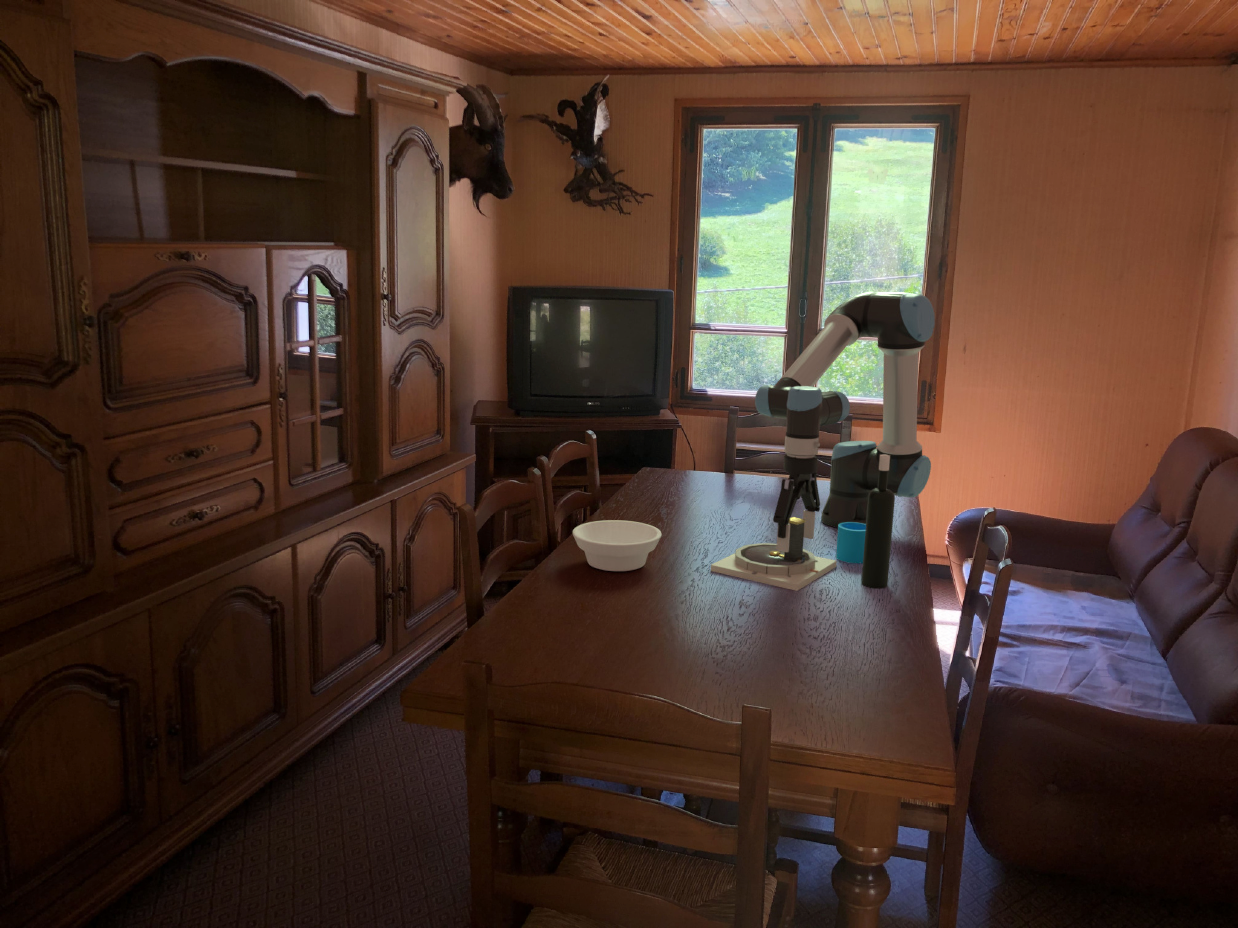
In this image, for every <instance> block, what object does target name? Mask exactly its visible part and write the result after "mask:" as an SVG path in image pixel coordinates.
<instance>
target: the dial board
mask: <svg viewBox="0 0 1238 928" xmlns="http://www.w3.org/2000/svg"><path fill="white" fill-rule="evenodd" d="M759 546H777V543H772V542H771V543H768V542H763V543H762V542H760V543H753V544H752V543H751V544H744V545H743V546H740V547H738V548H736V549H735V552H734V553H733V554H731V555H728V556H727V557H724V558H722V559H720V560H718V561H716V562H714V563H712V564H711V565H710V572H714V573H717V574H721V575H727V576H731V577H736V578H741V579H744V580H747V581H752V582H757V583H762V584H765V585H770V586H776V587H778V588H784V589H787V590H793V591H797V592H798V591H799V590H801V589H803V588H804V587H806V586H807V585H809V584H810V583H813V582H814V581H816V580H817V579H818V578H821V577H822V576H823V575H825V574H827V573H828V572H830V571H832V570H834V569H836V567H837V560H835V559H832V558H831V559H830V558H825V557H821V556H820V557H819V556H815V555H814V552H811V551H809V550H807V549H804V548H803V554H804V555H805V562H804V563H802V564H795V565H787V566H786V565H767V564H763V563H758V562H754V561H750V560H748V559H746V558H745V552H746V550H748V549H750V548H753V547H759Z"/></svg>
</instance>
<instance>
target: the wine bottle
mask: <svg viewBox="0 0 1238 928" xmlns="http://www.w3.org/2000/svg"><path fill="white" fill-rule="evenodd" d="M889 462H890V455H886V454H882V455H880V460H879V478H878V488H875V489H873V490H871V491H870V493H869V495H868V506H867V518H866V531H865V543H864V556H863V563H862V571H861V572H862V573H861V581H860V583H861V585H863V586H864V587H868V588H871V589H883V588H884V589H885V588H887V587H888V585H889V584H888V583H889V574H890V573H889V570H890V560H891V558H890V557H891V549H892V538H893V537H892V535H893V526H894V525H893V524H894V516H895V515H894V514H895V513H894V512H895V502H896V501H895V500H896V497H895V496H896V495H894V493H893V492H892V491H891V490H889V489H887V481H888V471H889Z"/></svg>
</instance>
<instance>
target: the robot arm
mask: <svg viewBox="0 0 1238 928" xmlns="http://www.w3.org/2000/svg"><path fill="white" fill-rule="evenodd" d="M934 311H935V310H934V306H933V305H932V303H931V301H930V300H929V298H928V297H926V296H925V295H923V294H919V293H912V292H897V291H896V292H893V291H891V292H890V291H887V292H886V291H885V292H884V291H866V292H862V293H858V294H856V295H854V296H852V297H850V298H849V299H847V300H845V301H844V302H842V303H841V304H839V305H838V306H837V307H836V308H835V309H834V310H833V311H832V312H831V313H830V314H829V315H828V316H827V317H826V319H825V320H824V324H823V328H822V329H821V330H820V331H819V333H818V334H817V335H816V336H815V337H814V338H813V339H812V341H811V342H810V343H809V345H807V347H806V348H805V349H804V350H803V351H802V352H801V354H800V355H799V356H798V357H797V358H796V360H795V361H794V362H793V363H792V364H791V366H790V367H789V368H788V369H787V370H786V371H785V373H784V374H783V375H782V376H781V377H780V378H779V379H778V380H777V381H776V383H775V384H763V385H761V386H760V387H758V390H756V393H755V397H754V404H755V405H754V406H755V408H756V411H757V412H758V414H761V415H762V416H766V417H771V418H776V419H783V420H786V423H785V424H786V428H785V429H786V430H785V438H784V453H785V455H784V456H783V457H784V458H783V471H785V473H788V474H789V475H788V479H785V478H784V479H783V478H782V480H781V485H780V486H781V487H780V491H779V496H778V499H777V504H776V507H775V511H774V514H773V518H772V520H773V523H776V524H777V534H776V535H777V536H776V544H777V548H776V550H778V551H783V552H789V539H790V524H788V523H789V520H790V518H792V514H793V512H794V509H795V506H796V504H797V501H798V500H799V499H801V500H802V503H803V506H804V510H803V512H802V513H803V514H802V519H804V520H805V523H804V538H803V539H809V540H813V539H814V537H815V521H816V512H820V510H821V507H820V506H821V502H820V501H821V500H820V495H819V488H818V480H817V475H818V474H817V471H818V461H819V460H818V457H817V454H818V453H819V447H820V446H821V443H820V442H819V440H820V439H819V438H820V430H821V428H820V427H822V426H827V425H835V424H837V423H839V422H843V421H844V420H845V419H846V418H847V417H848V415H849V413H850V409H851V405H850V400H849V398H848V396H847V395H845V393H843V392H842V391H839V390H838V391H837V390H833V391H832V390H828V391H822V390H821V388H819V387H815V385H816V384H817V383H818V382H819V380H820V379H821V378H822V377H823V376H824V374H825V373H826V372H827V370H828V369H829V368H830V367H831V366H832V364H833V363H834V362H835V361H836V359H838V357H839V356H840V355H841V354H842V353H843V351H844V350H845V349H846V348H847V347H848V346H851V345H853V344H854V343H856V342H857V340H858V339H860V338H865V337H868V338H869V337H870V338H877V347H878V349H879V350H880V351H881V352H882V353H883V387H882V388H883V390H882V393H883V395H882V396H883V397H882V403H883V404H882V410H883V411H882V441H881V442H879V443H878V444H877V443H876V441H872V440H850V441H849V440H848V441H843V442H838V443H836V444H835V445H834V446H833V449H832V454H831V458H830V460H831V466H830V481H829V492H828V493H829V494H828V498H827V499H826V502H825V504H824V507H823V508H822V511H821V518H820V520H821V523H823V524H824V525H826V526H829V527H833V528H837V529H838V525H839V524H840V523H845V522H856V523H863V524H866V518H867V506H868V495H869V493H870V491H871V490H873V489H875V488H878V478H879V460H880V455H882V454H886V455H890V462H889V471H888V481H887V489H889V490H891V491H892V492H893V493H894V495H895V496H897V497H899V498H903V497H904V498H911V499H912V498H916V497H918V496H919V495H920V494H921V493H922V492H923V491H924V489H925V488H926V485H927V484H928V480H929V479H930V475H931V470H932V462H931V458H930V457H928V456H927V455H923V445H922V444H921V443H920V442H918V440H917V431H918V430H917V427H918V425H917V424H918V421H917V420H918V390H919V389H918V386H919V385H918V384H919V381H918V379H919V352H920V351H921V350H923V348H924V347H925V346H926V345H925V343H926V341H928V340H930V339H931V337H932V335H933V332H934V328H935V325H936V324H935V323H936V322H935V320H936V317H935V312H934Z"/></svg>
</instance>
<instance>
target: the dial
mask: <svg viewBox="0 0 1238 928" xmlns="http://www.w3.org/2000/svg"><path fill="white" fill-rule="evenodd" d="M804 523H805V520H804V519H803V518H799V517H795V516H791V517H790V520H789V523H788V524H790V539H789V552H783V551H778V550H776V548H777V546H759V547H753V548H750V549H748V550H746V552H745V558H746V559H748V560H750V561H754V562H758V563H763V564H767V565H786V566H787V565H795V564H802V563H804V562H805V555H804V554H803V549H804V539H805V538H804Z"/></svg>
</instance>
